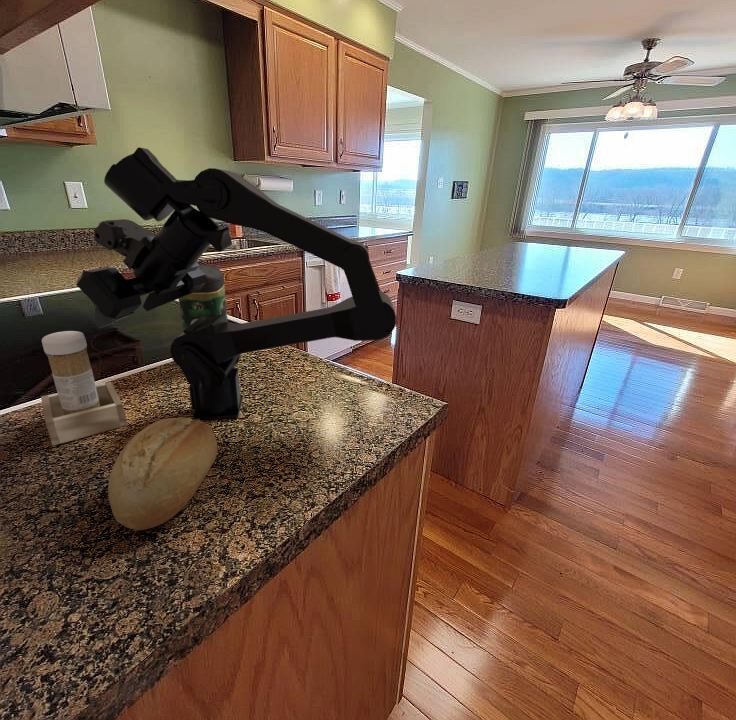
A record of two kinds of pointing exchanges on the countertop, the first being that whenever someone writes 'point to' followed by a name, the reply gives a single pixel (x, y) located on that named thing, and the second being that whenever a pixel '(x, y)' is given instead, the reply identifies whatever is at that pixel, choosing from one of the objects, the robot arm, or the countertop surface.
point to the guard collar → (83, 416)
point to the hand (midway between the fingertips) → (123, 316)
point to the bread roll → (160, 471)
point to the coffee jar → (205, 298)
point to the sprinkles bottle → (71, 371)
